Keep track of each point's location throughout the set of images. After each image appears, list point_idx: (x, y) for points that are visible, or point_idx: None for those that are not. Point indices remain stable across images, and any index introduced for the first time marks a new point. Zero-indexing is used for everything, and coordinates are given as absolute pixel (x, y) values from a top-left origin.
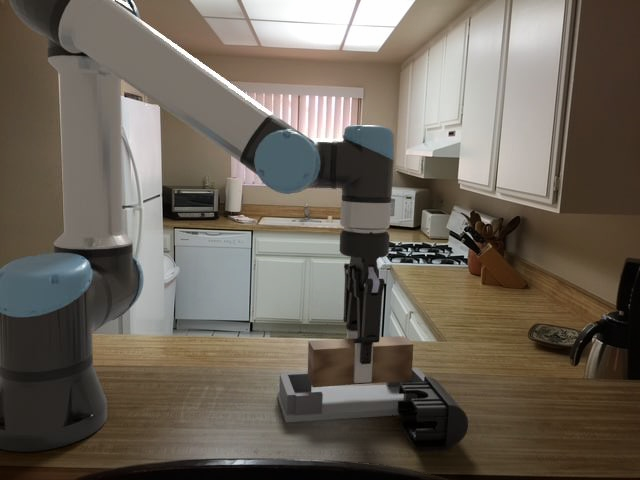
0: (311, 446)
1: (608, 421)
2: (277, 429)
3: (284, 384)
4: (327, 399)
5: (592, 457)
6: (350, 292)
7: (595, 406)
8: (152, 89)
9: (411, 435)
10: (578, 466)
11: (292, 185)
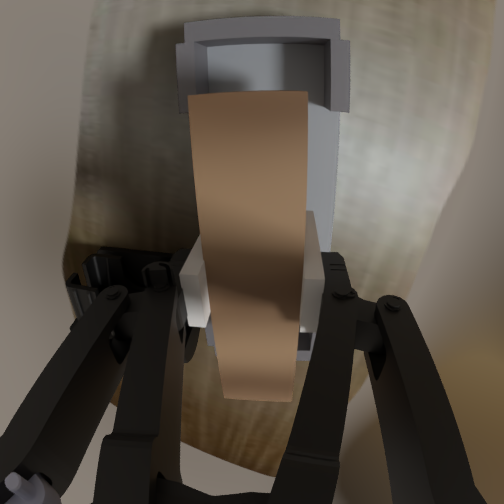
0: (104, 80)
1: (195, 438)
2: (168, 15)
3: (257, 18)
4: None
5: None
6: (319, 447)
7: (228, 447)
8: None
9: (127, 256)
10: None
11: None
